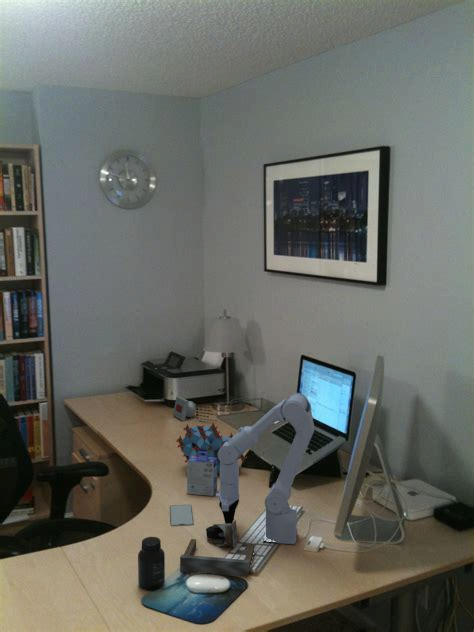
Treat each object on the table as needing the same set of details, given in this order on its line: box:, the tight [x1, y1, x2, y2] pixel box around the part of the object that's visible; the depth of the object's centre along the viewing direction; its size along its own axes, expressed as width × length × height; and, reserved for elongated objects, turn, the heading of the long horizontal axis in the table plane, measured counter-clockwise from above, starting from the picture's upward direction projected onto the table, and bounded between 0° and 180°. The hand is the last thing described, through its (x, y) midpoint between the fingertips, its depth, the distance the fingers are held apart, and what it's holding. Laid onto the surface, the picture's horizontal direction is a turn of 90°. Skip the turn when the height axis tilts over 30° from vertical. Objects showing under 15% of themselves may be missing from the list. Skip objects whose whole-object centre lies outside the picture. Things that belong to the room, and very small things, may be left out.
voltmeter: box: [172, 395, 220, 423], centre depth 311 cm, size 27×11×10 cm, turn 67°
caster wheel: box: [205, 519, 239, 549], centre depth 191 cm, size 7×11×10 cm
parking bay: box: [179, 538, 255, 578], centre depth 179 cm, size 18×14×4 cm
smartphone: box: [169, 504, 195, 527], centre depth 208 cm, size 7×1×15 cm
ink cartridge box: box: [186, 451, 218, 497], centre depth 225 cm, size 10×6×14 cm, turn 78°
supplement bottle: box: [137, 536, 166, 592], centre depth 167 cm, size 7×7×12 cm
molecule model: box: [175, 421, 248, 475], centre depth 246 cm, size 16×14×25 cm
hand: (229, 523), depth 197 cm, fingers closed
